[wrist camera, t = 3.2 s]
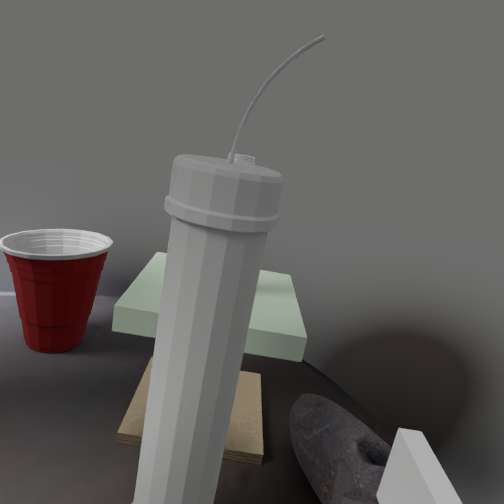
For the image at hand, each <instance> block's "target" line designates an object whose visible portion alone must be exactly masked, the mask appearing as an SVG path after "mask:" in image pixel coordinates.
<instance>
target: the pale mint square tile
mask: <svg viewBox="0 0 504 504" xmlns="http://www.w3.org/2000/svg"><path fill="white" fill-rule="evenodd" d="M166 257H167V253H161V252H157V253H156V254H155V255H154V257H153V258H152V259H151V260H150V262H149V263H148V264H147V265H146V267H145V268H144V269H143V270H142V272H141V273H140V274H139V275H138V277H137V278H136V279H135V280H134V282H133V283H132V284H131V285H130V287H129V288H128V289H127V290H126V292H125V293H124V294H123V295H122V297H121V298H120V299H119V300H118V301H117V303H116V304H115V305H114V313H113V323H112V331H116V332H122V333H128V334H134V335H140V336H146V337H152V338H156V332H157V324H158V317H159V309H160V302H161V295H162V287H163V280H164V272H165V265H166ZM306 341H307V335H306V332H305V328H304V324H303V321H302V317H301V313H300V310H299V306H298V303H297V299H296V295H295V291H294V288H293V284H292V280H291V277H290V275H287V274H281V273H275V272H269V271H263V270H260V273H259V278H258V283H257V288H256V293H255V298H254V303H253V308H252V313H251V318H250V323H249V328H248V333H247V338H246V343H245V348H244V353H249V354H255V355H261V356H268V357H274V358H280V359H286V360H292V361H298V362H302V357H303V353H304V349H305V345H306Z"/></svg>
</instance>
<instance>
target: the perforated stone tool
mask: <svg viewBox="0 0 504 504" xmlns="http://www.w3.org/2000/svg"><path fill="white" fill-rule="evenodd" d="M289 427H290V436H291V441H292V445H293V449H294V452H295V455H296V457H297V460H298V462H299V464H300V466H301V468H302V470H303V472H304V474H305V475H306V477H307V479H308V481H309V483H310V484H311V486H312V488H313V490H314V491H315V493H316V495H317V497H318V498H319V500H320V502H321V503H322V504H379V502H378V499H377V496H376V495H377V491H378V488H379V485H380V482H381V479H382V476H383V473H384V470H385V467H386V464H387V461H388V458H389V455H390V452H391V449H392V448H391V447H390V446H389V445H388V444H387V443H386V442H385V441H383V440H382V439H381V438H380V437H379V436H378V435H377V434H375V433H374V432H373V431H372V430H371V429H370V428H369V427H368V426H366V425H365V424H364V423H363V422H361V421H360V420H359V419H357V418H356V417H354V416H353V415H352V414H351V413H350V412H348V411H347V410H345V409H344V408H342V407H341V406H339V405H338V404H336V403H334V402H333V401H331V400H329V399H327V398H325V397H323V396H320V395H317V394H312V393H311V394H310V393H308V394H306V393H305V394H302V395H301V396H300V397H299V399H298V400H297V401H296V402H295V403H294V404H293V406H292V407H291V411H290V416H289Z"/></svg>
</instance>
